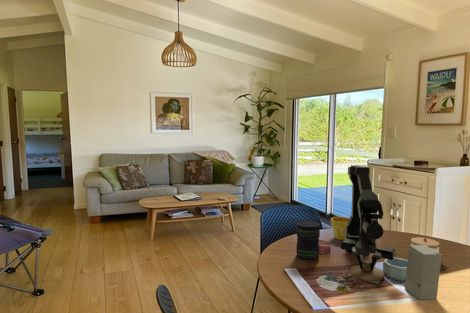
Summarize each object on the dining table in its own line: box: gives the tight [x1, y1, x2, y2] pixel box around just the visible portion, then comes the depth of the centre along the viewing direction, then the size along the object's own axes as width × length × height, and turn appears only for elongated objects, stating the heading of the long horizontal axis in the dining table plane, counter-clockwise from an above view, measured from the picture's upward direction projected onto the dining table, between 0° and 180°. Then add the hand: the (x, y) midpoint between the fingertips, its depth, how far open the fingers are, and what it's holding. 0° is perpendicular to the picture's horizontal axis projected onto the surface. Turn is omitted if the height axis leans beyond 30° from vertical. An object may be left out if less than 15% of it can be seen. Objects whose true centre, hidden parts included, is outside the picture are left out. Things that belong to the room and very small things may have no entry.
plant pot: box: [330, 216, 350, 241], centre depth 169 cm, size 10×10×10 cm
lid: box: [349, 260, 385, 282], centre depth 126 cm, size 12×12×4 cm
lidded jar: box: [410, 237, 440, 253], centre depth 142 cm, size 11×11×9 cm
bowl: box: [382, 256, 408, 281], centre depth 127 cm, size 10×10×4 cm
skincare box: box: [404, 244, 443, 301], centre depth 111 cm, size 8×7×16 cm
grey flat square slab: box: [347, 272, 386, 285], centre depth 126 cm, size 11×11×1 cm
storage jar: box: [295, 219, 321, 262], centre depth 143 cm, size 10×10×15 cm
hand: (366, 270), depth 126 cm, fingers closed on lid, 3 cm apart
